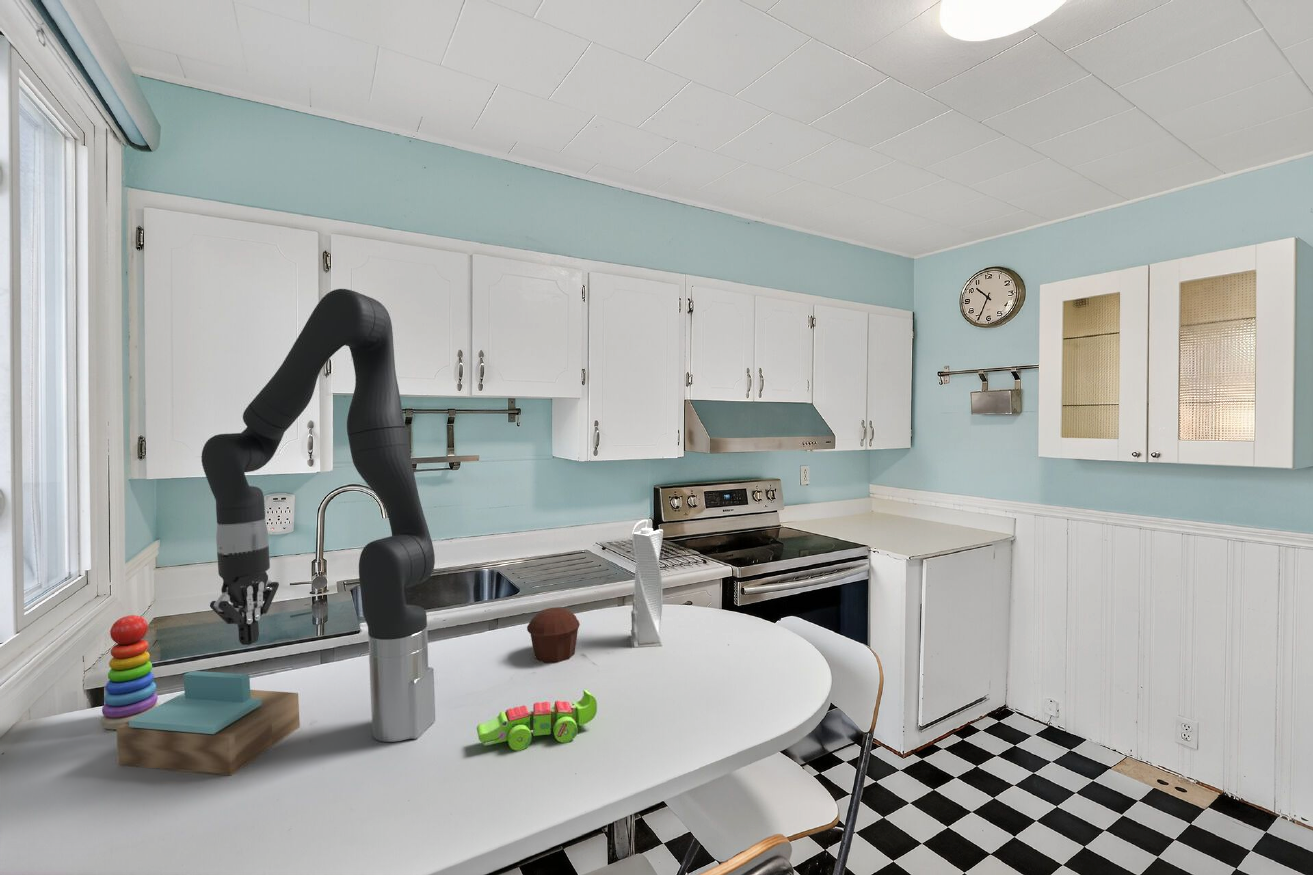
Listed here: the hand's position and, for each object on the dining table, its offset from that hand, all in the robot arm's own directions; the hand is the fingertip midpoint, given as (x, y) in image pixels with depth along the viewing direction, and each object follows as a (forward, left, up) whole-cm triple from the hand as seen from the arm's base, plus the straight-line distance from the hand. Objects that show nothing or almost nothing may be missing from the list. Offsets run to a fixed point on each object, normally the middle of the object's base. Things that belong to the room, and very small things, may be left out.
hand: (249, 643), depth 107 cm
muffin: (-44, -34, -14) cm, 57 cm away
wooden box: (0, +8, -14) cm, 16 cm away
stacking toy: (+22, +3, -14) cm, 26 cm away
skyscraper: (-63, -45, -14) cm, 79 cm away
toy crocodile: (-53, -1, -14) cm, 55 cm away
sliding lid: (0, +11, -7) cm, 13 cm away
